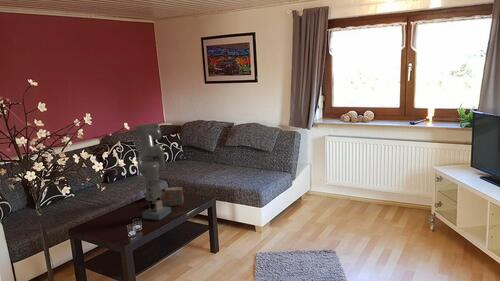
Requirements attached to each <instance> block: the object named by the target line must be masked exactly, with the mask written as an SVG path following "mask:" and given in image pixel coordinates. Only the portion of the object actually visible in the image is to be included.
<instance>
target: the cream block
mask: <svg viewBox="0 0 500 281" xmlns="http://www.w3.org/2000/svg"><path fill="white" fill-rule="evenodd" d="M148 203H149V202H148ZM153 203H154V207H155V209H150V211H155V212H158V211H159V210H161V209H163V208H162V200H154V202H153ZM148 205H149V206H150V203H149V204H148Z"/></svg>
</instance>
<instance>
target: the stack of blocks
mask: <svg viewBox="0 0 500 281" xmlns="http://www.w3.org/2000/svg"><path fill="white" fill-rule="evenodd" d="M183 190H184V189H183V187H182V186H181V187H180V186H174V187H166V188H165V189H164V191H162V196H161V200H162V206H165V207H171V206H174V207H175V206H183V204H184V203H185V200H184V191H183ZM155 200H157V199H155Z"/></svg>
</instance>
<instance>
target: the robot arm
mask: <svg viewBox="0 0 500 281" xmlns="http://www.w3.org/2000/svg"><path fill="white" fill-rule="evenodd" d="M135 132H136V135H137V136H138V139H139V141H140V146H141V151H140V152H139V153H138V156H137V161H136V162H138V163H137V169H138V170H137V171H138V172H139V173H140V174H142V175H143V176H144V182H145V183H144V184H145V192H143V196H144V197H145V198H144V199H145V201H147V202H148V203H150V205H149V208H150V209H155V207H154V203H153V202H154V200H155V199H157V200H161V196H162V192H163V191H162V188H161V184H160V180H159V171H162V170H165V169H166V162H165V153H164V148H163V145H162V144H155V143H154V140H155V141H157V140H161V138H162V132H161V128H160V125H159V124H158V123H147V124H140V125H137V126H136V127H135ZM143 158H144V160H143ZM142 160H143V161H142Z"/></svg>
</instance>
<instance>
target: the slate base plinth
mask: <svg viewBox="0 0 500 281" xmlns="http://www.w3.org/2000/svg"><path fill="white" fill-rule="evenodd" d="M162 208H163V209H161V210H159V211H158V212H155V211H150V207H149V208H148V209H145V210H144V211H142V212H141V216H142V219H144V220H145V219H146V220H155V221H160V220H162V219H163V218H165V217H166V216H168V215H170V214H171V213H172V207H171V206H162ZM169 213H170V214H169Z"/></svg>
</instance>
